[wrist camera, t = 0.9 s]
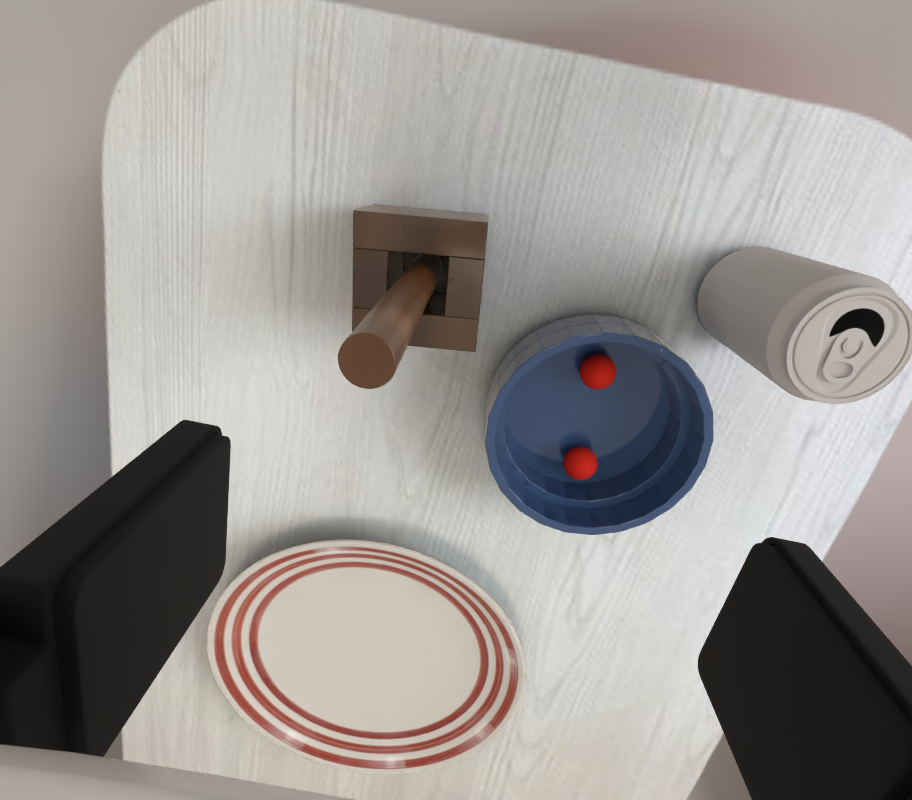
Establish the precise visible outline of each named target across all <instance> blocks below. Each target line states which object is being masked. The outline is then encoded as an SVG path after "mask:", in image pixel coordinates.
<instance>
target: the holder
mask: <svg viewBox="0 0 912 800" xmlns="http://www.w3.org/2000/svg"><path fill="white" fill-rule="evenodd" d="M487 230H488V215H487V214H476V213H465V212H454V211H443V210H432V209H420V208H409V207H398V206H387V205H376V204H375V205H371V206H368V207H364V208H361V209H357V210H354V211H353V247H354V248H353V308H352V332H353V331H354V329H355V328H356V327H357V326H358V325H359V324H360V322H361V321H362V320H363V319H364V318H365V317H366V315H367V314H368V313H369V312H370V311H371V310H372V308H373V307H374V306H375V305H376V304H377V303H378V301H379V300H380V299H381V298H382V297H383V296H384V294H385V293H386V292H387V291H388V290H389V289H390V287H391V286H392V285H393V284H394V283H395V282H396V280H397V279H398V278H399V277H400V276H401V275H402V261H403V252H406V253H417V254H428V255H439V256H449V262H448V275H447V289H446V295H443V294H432V295H431V297H430V299H429V301H428V303H427V305H426V307H425V310H424V312H423V314H422V316H421V318H420V320H419V322H418V324H417V327H416V329H415V331H414V333H413V335H412V337H411V339H410V341H409V344H408V346H417V347H428V348H438V349H449V350H460V351H470V352H475V351H476V342H477V332H478V322H479V311H480V301H481V291H482V281H483V271H484V261H485V251H486V241H487Z"/></svg>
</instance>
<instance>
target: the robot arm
mask: <svg viewBox="0 0 912 800" xmlns="http://www.w3.org/2000/svg"><path fill="white" fill-rule="evenodd" d="M230 447H231V445H230V439H229V438H228V437H226V436H222V433H221V429H220V428H219V427H218V426H214V425H209V424H204V423H199V422H194V421H189V420H183V421H181V422H179V423H178V424H177V425H176V426H175V427H173V428H172V429H171V430H170V431H168V432H167V433H166V434H165V435H163V436H162V437H161V438H160V439H158V440H157V441H156V442H155V443H153V444H152V445H151V446H150V447H149V448H147V449H146V450H145V451H144V452H142V453H141V454H140V455H139V456H137V457H136V458H135V459H134V460H132V461H131V462H130V463H129V464H128V465H126V466H125V467H124V468H123V469H121V470H120V471H119V472H118V473H116V474H115V475H114V476H113V477H111V478H110V479H109V480H108V481H106V482H105V483H104V484H103V485H102V486H100V487H99V488H98V489H97V490H95V491H94V492H93V493H92V494H91V495H89V496H88V497H87V498H85V499H84V500H83V501H82V502H80V504H78V505H77V506H76V507H74V508H73V509H72V510H71V511H69V512H68V513H67V514H66V515H65V516H63V517H62V518H61V519H59V520H58V521H57V522H56V523H55V524H54V525H52V526H51V527H50V528H48V529H47V530H46V531H45V532H43V533H42V534H41V535H40V536H39V537H37V538H36V539H35V540H33V541H32V542H31V543H30V544H29V545H27V546H26V547H25V548H24V549H22V550H21V551H20V552H19V553H17V554H16V555H15V556H14V557H13V558H11V559H10V560H9V561H7V562H6V563H5V564H4V565H3V566H1V567H0V800H353V799H347V798H341V797H336V796H330V795H325V794H319V793H313V792H308V791H302V790H296V789H291V788H285V787H280V786H274V785H268V784H263V783H257V782H252V781H246V780H240V779H235V778H229V777H223V776H218V775H212V774H206V773H200V772H193V771H187V770H181V769H175V768H168V767H162V766H156V765H149V764H143V763H137V762H131V761H124V760H118V759H112V758H105V757H103V756H104V755H105V753H106V752H107V751H108V749H109V748H110V746H111V744H112V742H113V741H114V740H115V738H116V737H117V735H118V734H119V732H120V731H121V729H122V728H123V726H124V725H125V723H126V722H127V720H128V719H129V717H130V716H131V714H132V713H133V711H134V710H135V708H136V707H137V705H138V704H139V702H140V701H141V699H142V697H143V696H144V694H145V693H146V691H147V690H148V688H149V687H150V685H151V684H152V682H153V681H154V679H155V678H156V676H157V675H158V673H159V672H160V670H161V669H162V667H163V666H164V664H165V663H166V661H167V660H168V658H169V657H170V655H171V653H172V652H173V650H174V649H175V647H176V646H177V644H178V643H179V641H180V640H181V638H182V637H183V635H184V634H185V632H186V631H187V629H188V628H189V626H190V625H191V623H192V622H193V620H194V619H195V617H196V616H197V614H198V612H199V611H200V609H201V608H202V606H203V605H204V603H205V602H206V600H207V599H208V597H209V596H210V594H211V593H212V591H213V590H214V588H215V587H216V585H217V584H218V582H219V580H220V578H221V576H222V573H223V570H224V566H225V559H226V537H227V515H228V492H229V470H230ZM698 670H699V674H700V677H701V680H702V682H703V684H704V687H705V689H706V691H707V694H708V696H709V699H710V701H711V703H712V706H713V708H714V710H715V713H716V715H717V718H718V720H719V722H720V725H721V727H722V729H723V732H724V734H725V737H726V739H727V741H728V744H729V746H730V748H731V751H732V753H733V755H734V758H735V760H736V762H737V765H738V767H739V770H740V772H741V774H742V777H743V779H744V782H745V784H746V786H747V789H748V791H749V793H750V796H751V798H752V800H912V666H911V665H910V664H909V662H908V661H907V660H906V659H905V658H904V657H903V655H901V653H900V652H899V651H898V650H897V649H896V647H895V646H894V645H893V644H892V643H891V641H890V640H889V639H888V638H887V637H886V636H885V635H884V633H883V632H882V631H881V630H880V629H879V628H878V626H877V625H876V624H875V623H874V622H873V621H872V619H871V618H870V617H869V616H868V615H867V614H866V612H864V610H863V609H862V608H861V607H860V606H859V604H858V603H857V602H856V601H855V600H854V598H853V597H852V596H851V595H850V594H849V593H848V591H847V590H846V589H845V588H844V587H843V586H842V585H841V583H840V582H839V581H838V580H837V579H836V578H835V576H834V575H833V574H832V573H831V572H830V571H829V570H828V568H827V567H826V566H825V565H824V564H823V562H822V561H821V560H820V559H819V558H818V557H817V555H816V554H815V553H814V552H813V551H812V550H811V548H810V547H808V546H807V545H806V544H803V543H798V542H793V541H789V540H784V539H779V538H774V537H770V538H767V539H765V540H764V541H763V542H762V543H758V544H755V545H754V546H753V547H752V549H751V550H750V552H749V554H748V556H747V558H746V561H745V563H744V565H743V567H742V569H741V571H740V573H739V575H738V577H737V579H736V581H735V583H734V585H733V587H732V589H731V591H730V593H729V595H728V597H727V599H726V601H725V603H724V605H723V607H722V609H721V611H720V613H719V615H718V617H717V619H716V621H715V623H714V625H713V627H712V629H711V631H710V633H709V635H708V637H707V639H706V641H705V643H704V645H703V647H702V649H701V651H700V654H699V658H698Z"/></svg>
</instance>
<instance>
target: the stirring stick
mask: <svg viewBox="0 0 912 800" xmlns="http://www.w3.org/2000/svg"><path fill="white" fill-rule="evenodd" d="M441 273H442V263H441V260H440V259H439V258H438V257H437V256H436V255H428V254H420V255H418V256H417V257H416V258H415V259H414V261H413V262H412V263H411V264H410V265H409V266H408V268H407V269H406V270H405V271H404V272H403V273H402V275H401V276H400V277H399V278H398V279H397V280H396V282H395V283H394V284H393V285H392V286H391V287H390V289H389V290H388V291H387V292H386V293H385V294H384V296H383V297H382V298H381V299H380V300H379V301H378V303H377V304H376V305H375V306H374V307H373V308H372V310H371V311H370V312H369V313H368V314H367V315H366V317H365V318H364V319H363V320H362V321H361V322H360V324H359V325H358V326H357V327H356V328H355V329H354V331H353V332H352V333H351V334H350V335H349V336H348V338H347V339H346V340H345V341H344V342H343V344H342V345H341V347H340V350H339V353H338V363H339V367H340V370H341V372H342V373H343V375H344V376H345V378H346V379H347V380H348V381H349V382H351V383H352V384H354V385H356V386H358V387H361V388H366V389H373V388H378V387H381V386H383V385H385V384H386V383H387V382H389V381H390V380H391V378H392V377H393V375H394V373H395V371H396V369H397V367H398V365H399V363H400V361H401V358H402V356H403V354H404V352H405V350H406V348H407V346H408V344H409V341H410V339H411V337H412V335H413V333H414V331H415V329H416V327H417V324H418V322H419V320H420V318H421V316H422V314H423V312H424V310H425V307H426V305H427V303H428V301H429V299H430V297H431V295H432V293H433V290H434V288H435V286H436V284H437V282H438V280H439V278H440V276H441Z"/></svg>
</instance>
